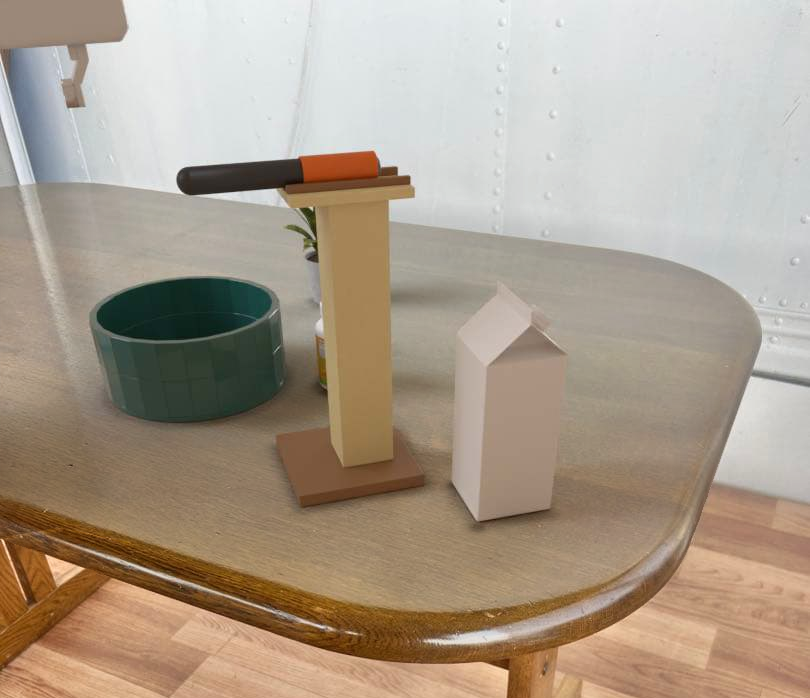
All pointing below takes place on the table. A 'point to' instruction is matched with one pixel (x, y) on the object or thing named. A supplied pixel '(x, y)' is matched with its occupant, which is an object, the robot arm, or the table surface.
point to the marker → (277, 173)
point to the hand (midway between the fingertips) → (15, 110)
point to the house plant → (312, 256)
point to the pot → (190, 347)
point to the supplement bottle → (321, 351)
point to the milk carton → (506, 409)
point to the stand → (352, 346)
